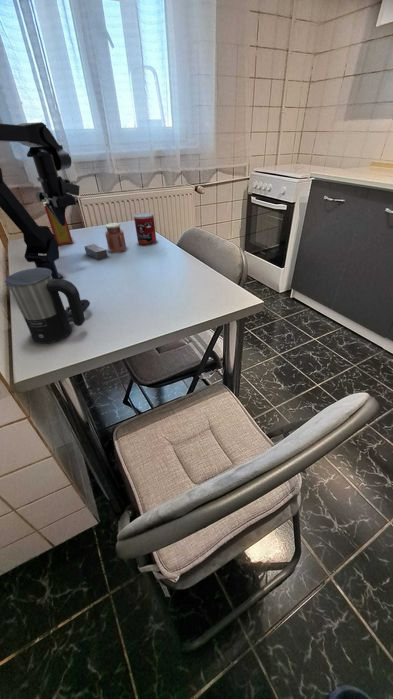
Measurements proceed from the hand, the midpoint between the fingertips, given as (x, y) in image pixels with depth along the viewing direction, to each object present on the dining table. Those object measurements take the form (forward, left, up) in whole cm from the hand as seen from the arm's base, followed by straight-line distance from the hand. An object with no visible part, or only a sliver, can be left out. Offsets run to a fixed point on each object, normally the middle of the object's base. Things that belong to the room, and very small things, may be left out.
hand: (63, 225), depth 101 cm
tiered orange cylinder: (-1, -14, -12) cm, 19 cm away
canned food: (-2, -32, -13) cm, 34 cm away
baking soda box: (+28, -8, -13) cm, 32 cm away
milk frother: (-40, +21, -13) cm, 47 cm away
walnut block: (0, -9, -13) cm, 16 cm away
